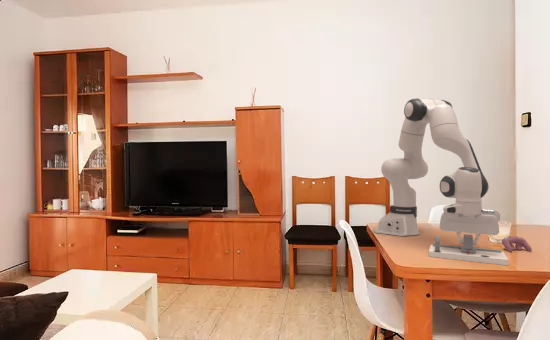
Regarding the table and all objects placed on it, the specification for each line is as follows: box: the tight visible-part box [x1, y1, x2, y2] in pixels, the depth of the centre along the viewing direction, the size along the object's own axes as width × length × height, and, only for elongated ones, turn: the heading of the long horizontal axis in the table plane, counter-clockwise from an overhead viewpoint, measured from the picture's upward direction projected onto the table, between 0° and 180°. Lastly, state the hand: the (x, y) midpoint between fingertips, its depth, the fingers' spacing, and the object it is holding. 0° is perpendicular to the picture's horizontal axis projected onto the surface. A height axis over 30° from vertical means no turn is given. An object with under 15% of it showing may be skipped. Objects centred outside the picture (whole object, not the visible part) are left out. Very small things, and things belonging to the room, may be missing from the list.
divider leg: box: [460, 233, 476, 254], centre depth 132 cm, size 5×7×6 cm
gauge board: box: [428, 235, 509, 266], centre depth 133 cm, size 26×12×8 cm, turn 62°
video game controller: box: [501, 235, 533, 253], centre depth 142 cm, size 10×5×7 cm, turn 93°
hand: (468, 244), depth 133 cm, fingers closed on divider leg, 3 cm apart
